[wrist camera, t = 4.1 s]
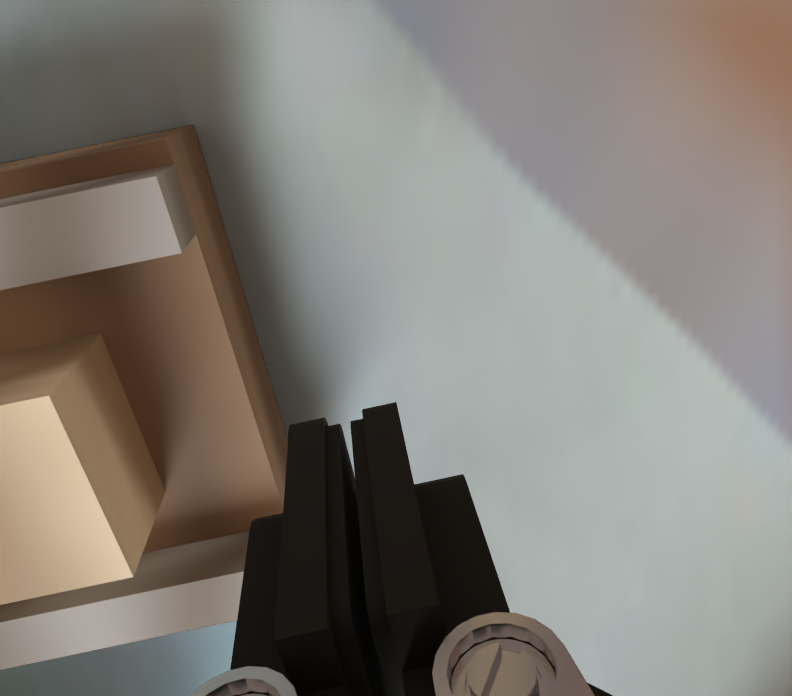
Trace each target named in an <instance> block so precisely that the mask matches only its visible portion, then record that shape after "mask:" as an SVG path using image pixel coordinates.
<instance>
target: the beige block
mask: <svg viewBox="0 0 792 696" xmlns="http://www.w3.org/2000/svg"><path fill="white" fill-rule="evenodd" d="M164 494H165V489H164V487H163V485H162V482H161V480H160V477H159V475H158V472H157V470H156V467H155V465H154V463H153V460H152V458H151V455H150V453H149V450H148V448H147V445H146V443H145V441H144V438H143V436H142V433H141V431H140V428H139V426H138V423H137V421H136V419H135V416H134V414H133V411H132V409H131V406H130V404H129V401H128V399H127V397H126V394H125V392H124V389H123V387H122V384H121V382H120V379H119V377H118V375H117V372H116V370H115V367H114V365H113V362H112V360H111V357H110V355H109V353H108V350H107V348H106V345H105V343H104V340H103V338H102V335H101V333H98V334H93V335H88V336H83V337H78V338H73V339H68V340H63V341H59V342H54V343H49V344H44V345H39V346H34V347H29V348H24V349H20V350H15V351H10V352H5V353H0V605H2V604H7V603H12V602H17V601H21V600H26V599H31V598H36V597H41V596H45V595H50V594H55V593H60V592H64V591H69V590H74V589H79V588H84V587H88V586H93V585H98V584H103V583H108V582H112V581H117V580H122V579H127V578H131V577H134V574H135V572H136V569H137V566H138V564H139V561H140V558H141V556H142V553H143V550H144V548H145V545H146V542H147V540H148V537H149V534H150V532H151V529H152V526H153V524H154V521H155V518H156V516H157V513H158V510H159V508H160V505H161V502H162V500H163V497H164Z"/></svg>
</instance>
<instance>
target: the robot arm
mask: <svg viewBox="0 0 792 696" xmlns="http://www.w3.org/2000/svg"><path fill="white" fill-rule="evenodd" d="M362 413H363V419H360V420H355V421H351V435H352V446H353V458H354V469H355V477H354V473H353V469H352V465H351V461H350V458H349V454H348V450H347V446H346V442H345V438H344V434H343V431H342V427H341V425H340V424H336V425H332V426H328V423H327V421H326V419H325V418H320V419H315V420H311V421H306V422H301V423H297V424H292V425H290V426H289V436H288V450H287V464H286V478H285V492H284V506H283V513H281V514H276V515H271V516H267V517H262V518H257V519H254V520H253V521H252V522H251V526H250V530H249V537H248V545H247V552H246V559H245V567H244V574H243V581H242V589H241V596H240V603H239V611H238V618H237V625H236V633H235V640H234V647H233V655H232V662H231V669H230V670H229V671H227V672H225V673H223V674H221V675H219V676H217V677H215V678H213V679H211V680H209V681H207V682H206V683H205V684H204V685H202V686H201V687H200V688H199V689H197V690H196V691H195V692H194V693H192V694H191V695H190V696H613V695H611V694H609V693H607V692H605V691H603V690H601V689H599V688H597V687H595V686H593V685H591V684H589V683H587V682H586V680H585V679H584V677H583V675H582V674H581V672H580V670H579V669H578V667H577V665H576V664H575V662H574V660H573V659H572V657H571V656H570V654H569V652H568V651H567V649H566V647H565V646H564V644H563V643H562V642H561V641H560V640H559V638H558V637H557V636H556V635H555V634H554V632H553V631H552V630H551V629H549V628H548V627H546V626H545V625H543V624H541V623H540V622H538V621H537V620H535V619H533V618H530V617H527V616H523V615H520V614H517V613H510V611H509V608H508V605H507V602H506V599H505V596H504V593H503V590H502V587H501V584H500V581H499V578H498V575H497V572H496V569H495V566H494V563H493V560H492V557H491V554H490V551H489V548H488V545H487V542H486V539H485V536H484V533H483V530H482V527H481V524H480V521H479V518H478V515H477V512H476V509H475V506H474V503H473V500H472V497H471V494H470V491H469V488H468V485H467V483H466V480H465V477H464V476H463V474H462V475H457V476H452V477H448V478H443V479H439V480H434V481H429V482H425V483H420V484H415V485H414V483H413V478H412V473H411V469H410V464H409V460H408V455H407V450H406V446H405V441H404V436H403V432H402V427H401V422H400V418H399V413H398V408H397V404H396V402H395V403H391V404H386V405H381V406H376V407H372V408H367V409H363V410H362Z"/></svg>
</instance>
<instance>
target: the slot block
mask: <svg viewBox="0 0 792 696" xmlns="http://www.w3.org/2000/svg"><path fill="white" fill-rule="evenodd" d="M98 333H101V335H102V338H103V340H104V343H105V345H106V348H107V350H108V353H109V355H110V357H111V360H112V362H113V365H114V367H115V370H116V372H117V375H118V377H119V379H120V382H121V384H122V387H123V389H124V392H125V394H126V397H127V399H128V401H129V404H130V406H131V409H132V411H133V414H134V416H135V419H136V421H137V423H138V426H139V428H140V431H141V433H142V436H143V438H144V441H145V443H146V445H147V448H148V450H149V453H150V455H151V458H152V460H153V463H154V465H155V467H156V470H157V472H158V475H159V477H160V480H161V482H162V485H163V487H164V489H165V494H164V497H163V500H162V502H161V505H160V508H159V510H158V513H157V516H156V518H155V521H154V524H153V526H152V529H151V532H150V534H149V537H148V540H147V542H146V545H145V548H144V550H143V553H142V556H141V558H140V561H139V564H138V566H137V569H136V572H135V574H134V577H131V578H127V579H122V580H117V581H112V582H108V583H103V584H98V585H93V586H88V587H84V588H79V589H74V590H69V591H64V592H60V593H55V594H50V595H45V596H41V597H36V598H31V599H26V600H21V601H17V602H12V603H7V604H2V605H0V670H3V669H7V668H12V667H17V666H22V665H26V664H31V663H36V662H41V661H45V660H50V659H55V658H60V657H65V656H69V655H74V654H79V653H84V652H88V651H93V650H98V649H103V648H107V647H112V646H117V645H122V644H126V643H131V642H136V641H141V640H145V639H150V638H155V637H160V636H164V635H169V634H174V633H179V632H183V631H188V630H193V629H198V628H202V627H207V626H212V625H217V624H221V623H226V622H231V621H236V620H237V618H238V611H239V603H240V596H241V589H242V581H243V574H244V567H245V559H246V552H247V545H248V537H249V530H250V526H251V522H252V521H253V520H254V519H257V518H262V517H267V516H271V515H276V514H281V513H283V506H284V492H285V478H286V464H287V450H288V439H287V436H286V432H285V429H284V426H283V422H282V419H281V416H280V412H279V409H278V405H277V402H276V399H275V395H274V392H273V389H272V385H271V382H270V379H269V375H268V372H267V369H266V365H265V362H264V359H263V355H262V352H261V349H260V345H259V342H258V339H257V335H256V332H255V329H254V325H253V322H252V319H251V315H250V312H249V309H248V305H247V302H246V298H245V295H244V292H243V288H242V285H241V282H240V278H239V275H238V272H237V268H236V265H235V262H234V258H233V255H232V252H231V248H230V245H229V242H228V238H227V235H226V232H225V228H224V225H223V222H222V218H221V215H220V212H219V208H218V205H217V201H216V198H215V195H214V191H213V188H212V185H211V181H210V178H209V175H208V171H207V168H206V165H205V161H204V158H203V155H202V151H201V148H200V145H199V141H198V138H197V135H196V131H195V128H194V125H190V126H185V127H180V128H175V129H170V130H165V131H160V132H155V133H150V134H145V135H141V136H136V137H131V138H126V139H121V140H116V141H111V142H106V143H101V144H96V145H91V146H86V147H81V148H76V149H71V150H66V151H62V152H57V153H52V154H47V155H42V156H37V157H32V158H27V159H22V160H17V161H12V162H7V163H2V164H0V353H5V352H10V351H15V350H20V349H24V348H29V347H34V346H39V345H44V344H49V343H54V342H59V341H63V340H68V339H73V338H78V337H83V336H88V335H93V334H98Z"/></svg>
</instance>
